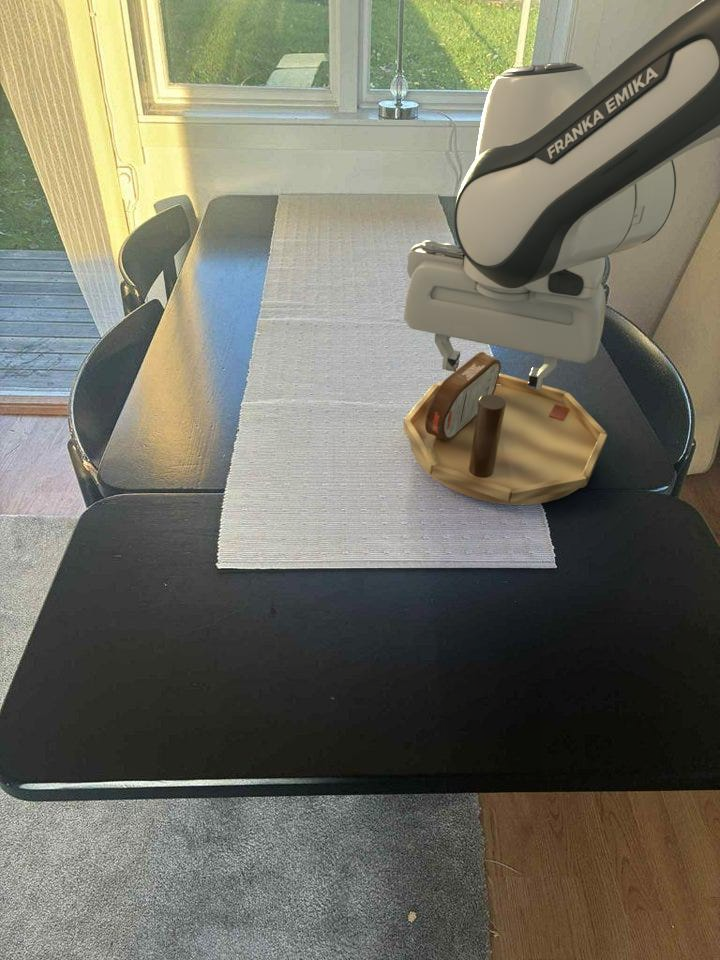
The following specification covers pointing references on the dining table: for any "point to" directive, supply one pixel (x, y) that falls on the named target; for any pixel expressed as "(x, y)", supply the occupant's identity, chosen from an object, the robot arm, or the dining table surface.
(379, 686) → the dining table surface
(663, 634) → the dining table surface
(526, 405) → the tray
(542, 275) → the robot arm
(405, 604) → the dining table surface
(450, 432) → the tin
